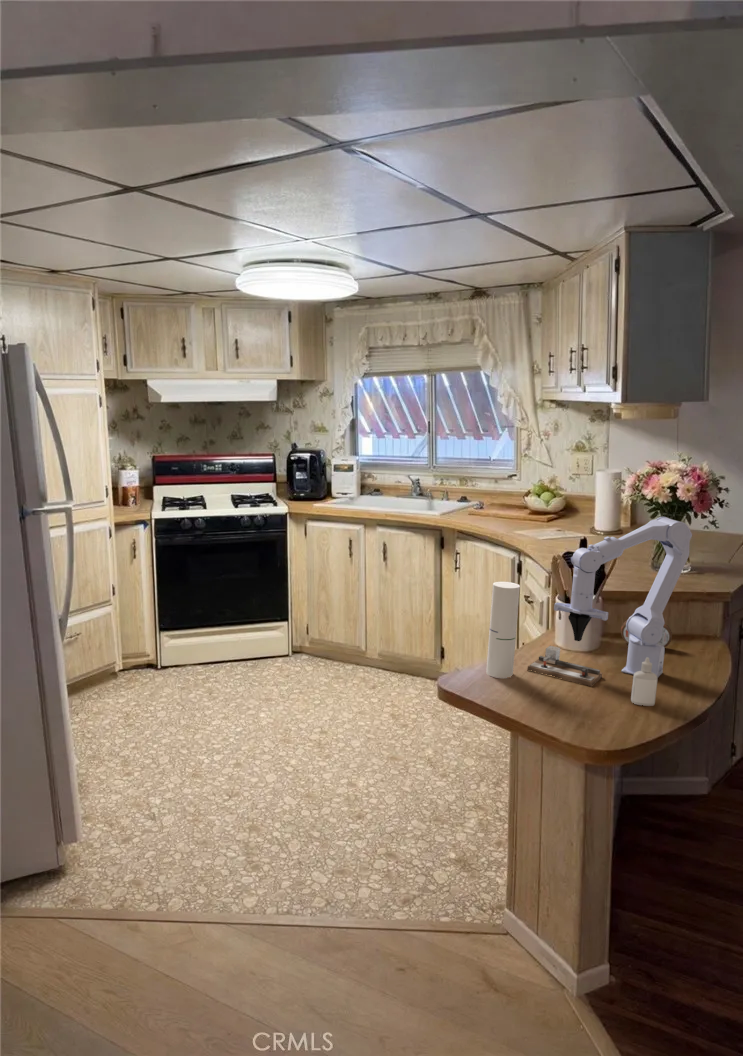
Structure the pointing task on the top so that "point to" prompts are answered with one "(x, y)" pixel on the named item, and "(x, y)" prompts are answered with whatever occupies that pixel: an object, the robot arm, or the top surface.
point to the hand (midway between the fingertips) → (577, 640)
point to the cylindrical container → (502, 629)
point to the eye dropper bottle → (644, 685)
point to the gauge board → (567, 671)
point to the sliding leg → (551, 655)
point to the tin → (663, 642)
